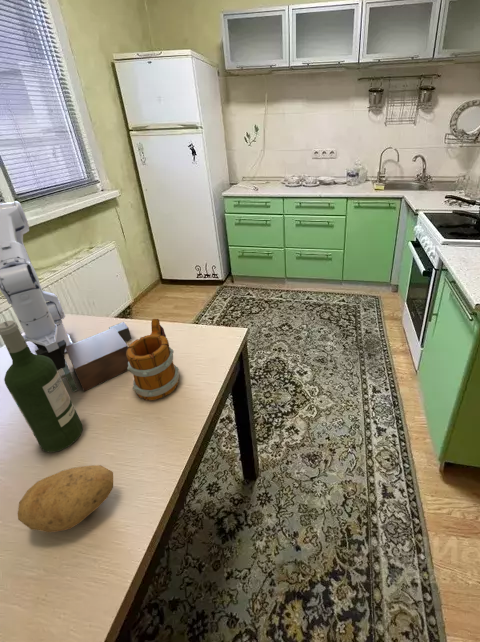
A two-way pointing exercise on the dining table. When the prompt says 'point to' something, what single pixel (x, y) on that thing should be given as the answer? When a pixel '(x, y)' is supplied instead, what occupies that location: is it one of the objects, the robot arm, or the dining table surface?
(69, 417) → the wine bottle
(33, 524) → the potato
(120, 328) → the block
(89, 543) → the dining table surface
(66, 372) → the drawer
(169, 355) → the mug
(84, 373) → the cabinet
